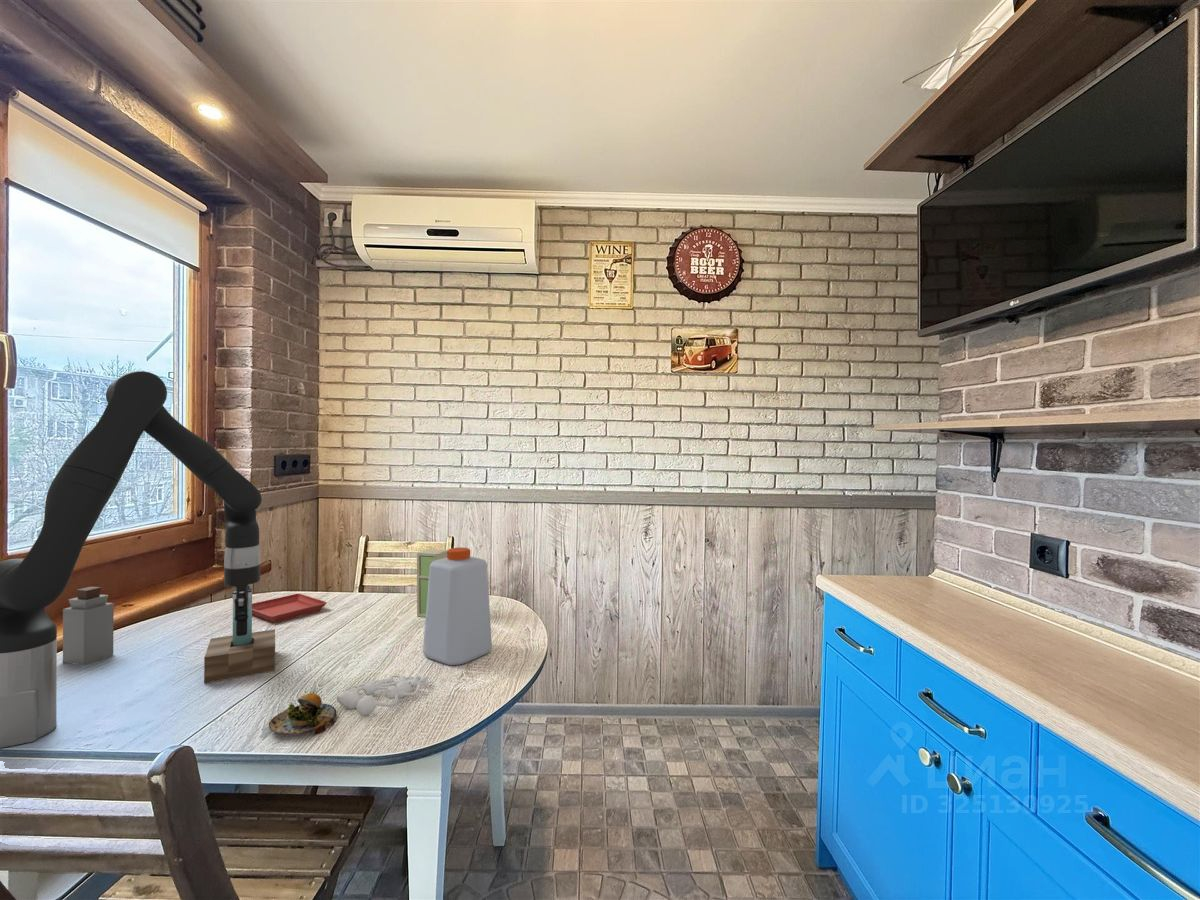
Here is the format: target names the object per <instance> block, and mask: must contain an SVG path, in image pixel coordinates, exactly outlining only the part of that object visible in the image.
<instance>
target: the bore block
mask: <svg viewBox="0 0 1200 900" xmlns="http://www.w3.org/2000/svg"><path fill="white" fill-rule="evenodd" d="M203 658H204V659H203V660H204V662H203V665H204V666H203V667H204V668H203V669H204V673H203V674H204V675H203V679H204V682H203V683H204V684H207V683H214V682H219V681H220V682H221V681H225V680H230V679H235V678H241V677H243V678H244V677H247V676H254V675H259V674H264V673H270V672H275V671H276V669H275V668H276V629H275V628H274V629H268V630H267V629H266V630H260V631H252V644H249V645H242V646H236V647H233V634H232V635H227V636H220V637H212V638H210V640H209V643H208V646H207V648H206V651H205V655H204V657H203Z"/></svg>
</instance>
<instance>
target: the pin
mask: <svg viewBox="0 0 1200 900" xmlns="http://www.w3.org/2000/svg"><path fill="white" fill-rule="evenodd" d="M248 591H252V592H253V589H252V590H248ZM234 592H236V591H234ZM234 592H232V594H233V593H234ZM247 599H248V596H247ZM252 604H253V596H252V597H251V598H250V609H249V610H248V620H247V634H246V635H243V636H237V635H236V621H235V611H234V610H233V609H232V635H233V647H236V646H242V645H249V644H252V633H253V615H252ZM247 605H248V601H247ZM233 606H234V600H233V599H232V607H233ZM244 614H245V612H239V613H238V615H244Z"/></svg>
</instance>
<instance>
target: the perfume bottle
mask: <svg viewBox="0 0 1200 900" xmlns="http://www.w3.org/2000/svg"><path fill="white" fill-rule="evenodd" d="M101 589H102V587H101V586H88V587H83V588H79V589H76V596H77V597H73V598H69V599H68V602H69V605H70V606H69V607H66V608H62V663H64V662H68V663H67V664H72V663H75V665H80V664H81V665H82V666H84V665H88V664H90V663H91V664H92V663H94V662H96V661H99V660H103V659H105V658H107V656H108V657H110V655H111V656H113V655H114V622H115V621H114V611H115V610H114V607H115V606H114V605H115V603H114V602H108V598H109V594H101ZM93 661H94V662H93ZM87 663H88V664H87Z"/></svg>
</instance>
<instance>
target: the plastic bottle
mask: <svg viewBox="0 0 1200 900" xmlns="http://www.w3.org/2000/svg"><path fill="white" fill-rule="evenodd" d="M447 550H448V551H447V558H443V559H439V560H435V561H433V562H432V563H431V564H430V569H429V581H428V594H427V606H426V617H425V619H424V620H425V621H424V632H423V633H424V634H423V644H422V645H423V646H422V654H423V656H425V657H426V658H428V659H431V660H433V661H436V662H439V663H442V664H444V665H449V666H458V665H460V666H461V665H463V664H467V663H469V662H471V661H473V660H476V659H478V658H480V657H482V656H485V655H486V654H489V653H490V651H491V650H492V647H493V644H492V642H493V641H492V628H491V627H492V626H491V623H492V622H491V611H490V610H491V609H490V594H489V592H490V591H489V577H488V563H487V561H486V560H485V559H483V558H480V557H474V556H471V549H470V548H469V547H452V548H449V549H447Z"/></svg>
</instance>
